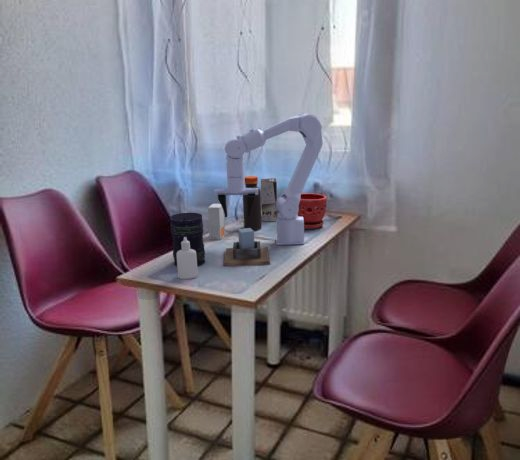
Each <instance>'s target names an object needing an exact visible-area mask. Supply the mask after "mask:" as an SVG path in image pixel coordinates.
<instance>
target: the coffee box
mask: <svg viewBox="0 0 520 460" xmlns="http://www.w3.org/2000/svg"><path fill="white" fill-rule="evenodd" d="M277 182H278V181H277V178H261V179H260V192H261V222H277V214H278V210H277V208H276V201H277V199H278V190H277V189H278V188H277V187H278V185H277Z"/></svg>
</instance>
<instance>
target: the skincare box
mask: <svg viewBox="0 0 520 460" xmlns="http://www.w3.org/2000/svg"><path fill="white" fill-rule="evenodd" d="M207 214H208V216H207V217H208V232H209V240H213V241H214V240H219V241H220V240H222V239H223V237H225V214H224V211H223V208H222V206H221V204H220V203H212V204H210V205H209V206H208V207H207Z"/></svg>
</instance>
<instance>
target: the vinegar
mask: <svg viewBox="0 0 520 460" xmlns="http://www.w3.org/2000/svg"><path fill="white" fill-rule="evenodd" d="M258 179H259V178H258V176H257V175H252V176H251V175H249V176H244V181H245V188H258V195H255V199H254V201H253V203H252V206H251V210H250V216H248V195H242V207H243V208H242V209H243V210H242V212H243V213H242V214H243V229H245V228H251V229H252V230H253V231H254V232H256V231H260V230H261V229H263V228H262V207H261V188H259V187H258V182H259V180H258Z"/></svg>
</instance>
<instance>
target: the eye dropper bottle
mask: <svg viewBox="0 0 520 460" xmlns="http://www.w3.org/2000/svg"><path fill="white" fill-rule="evenodd" d="M181 247H182V250H179V251H178V252H177V267H176V268H177V277H178V279H179V278H180V280H190V279H195V278H198V276H199V273H198V267H197V257H196V251H195V250H193V249H190V242H189V241H187V238H186V237H184V240H183V241H182V242H181Z"/></svg>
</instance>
